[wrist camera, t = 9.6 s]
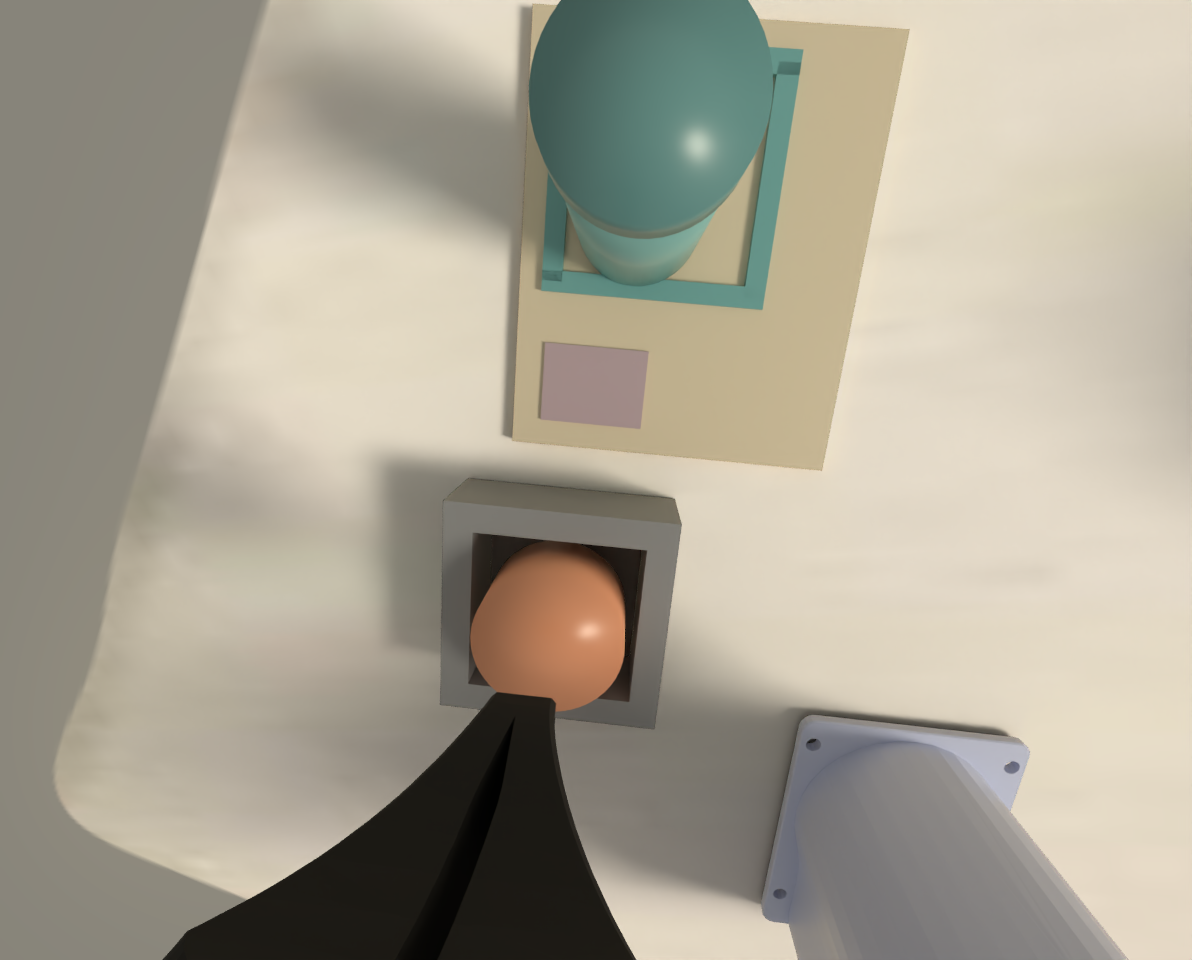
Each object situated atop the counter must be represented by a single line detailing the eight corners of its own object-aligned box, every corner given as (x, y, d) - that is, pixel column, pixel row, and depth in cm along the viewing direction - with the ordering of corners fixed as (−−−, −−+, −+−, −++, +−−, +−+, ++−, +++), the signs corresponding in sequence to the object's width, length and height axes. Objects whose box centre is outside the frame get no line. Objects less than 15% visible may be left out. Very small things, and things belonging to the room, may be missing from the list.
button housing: (651, 680, 20) (654, 729, 18) (463, 659, 20) (440, 704, 18) (674, 498, 18) (681, 524, 16) (468, 478, 19) (442, 500, 16)
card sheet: (818, 468, 18) (824, 472, 17) (514, 438, 18) (510, 441, 18) (904, 35, 15) (913, 25, 14) (534, 10, 15) (531, -1, 15)
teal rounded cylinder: (696, 295, 16) (753, 233, 9) (568, 284, 16) (521, 215, 9) (713, 154, 15) (791, -40, 8) (579, 144, 16) (536, -57, 8)
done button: (618, 669, 18) (616, 720, 16) (489, 655, 19) (468, 703, 16) (632, 547, 17) (632, 582, 15) (494, 533, 18) (472, 565, 15)
